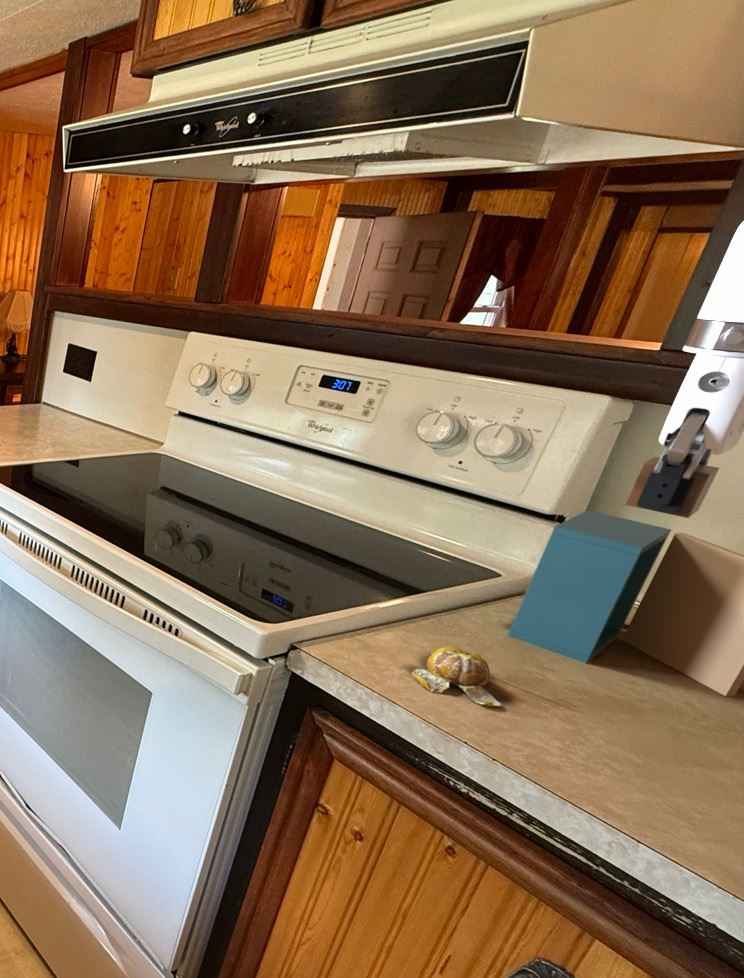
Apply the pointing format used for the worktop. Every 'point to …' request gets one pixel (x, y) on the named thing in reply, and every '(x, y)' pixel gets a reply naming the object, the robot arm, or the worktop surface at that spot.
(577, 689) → the worktop surface
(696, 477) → the block
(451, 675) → the fruit
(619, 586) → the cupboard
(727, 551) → the tan rectangular box
